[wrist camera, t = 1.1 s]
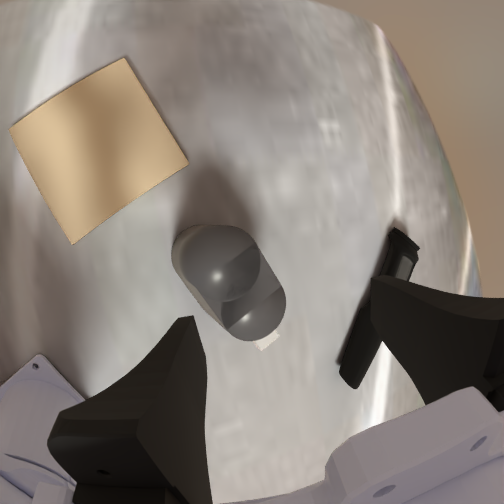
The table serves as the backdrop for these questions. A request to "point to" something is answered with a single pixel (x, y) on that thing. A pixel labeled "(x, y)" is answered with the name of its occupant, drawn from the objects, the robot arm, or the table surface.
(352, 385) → the electric trimmer
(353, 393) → the table surface
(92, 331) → the table surface
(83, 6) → the table surface
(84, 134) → the pad
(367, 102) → the table surface
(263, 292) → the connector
